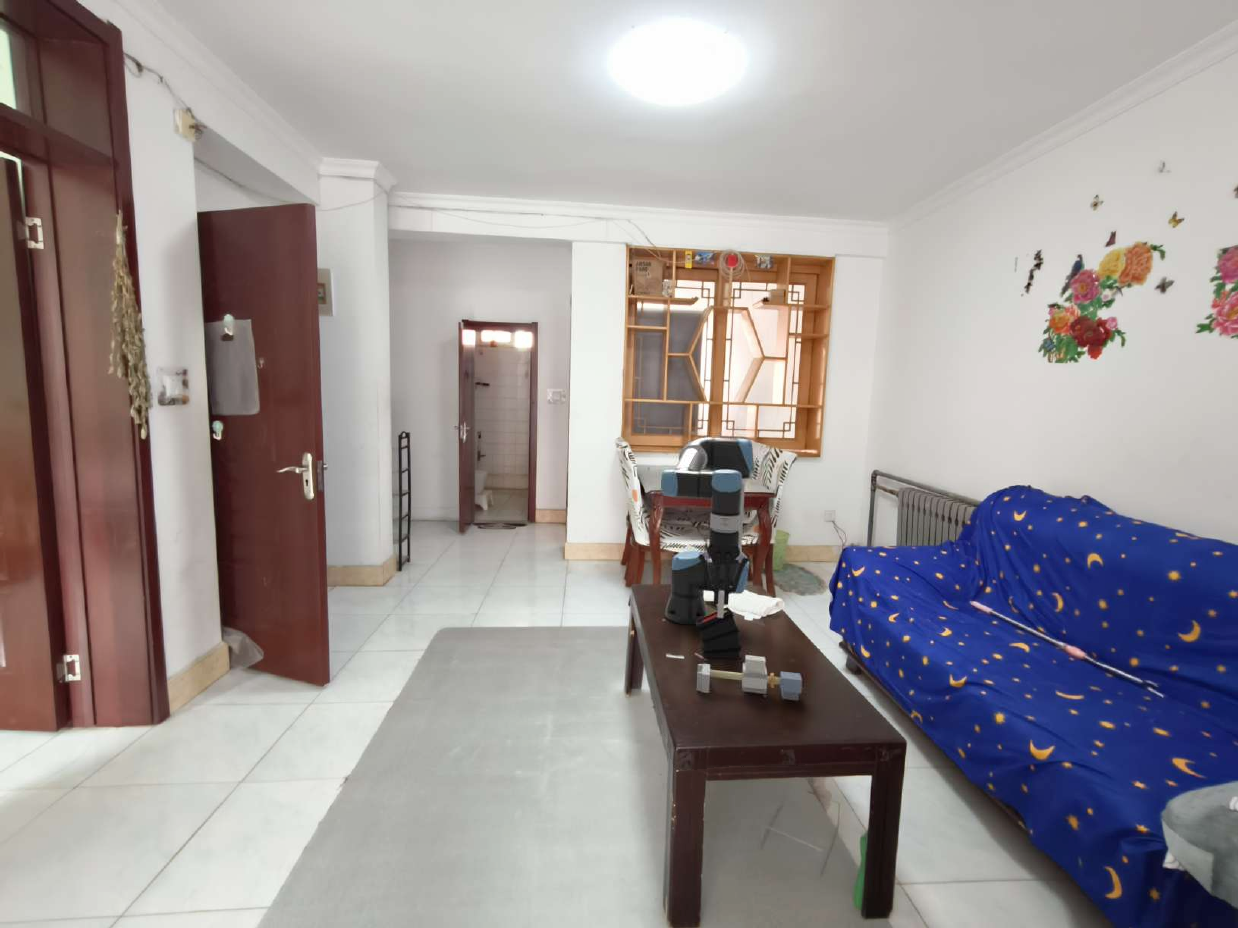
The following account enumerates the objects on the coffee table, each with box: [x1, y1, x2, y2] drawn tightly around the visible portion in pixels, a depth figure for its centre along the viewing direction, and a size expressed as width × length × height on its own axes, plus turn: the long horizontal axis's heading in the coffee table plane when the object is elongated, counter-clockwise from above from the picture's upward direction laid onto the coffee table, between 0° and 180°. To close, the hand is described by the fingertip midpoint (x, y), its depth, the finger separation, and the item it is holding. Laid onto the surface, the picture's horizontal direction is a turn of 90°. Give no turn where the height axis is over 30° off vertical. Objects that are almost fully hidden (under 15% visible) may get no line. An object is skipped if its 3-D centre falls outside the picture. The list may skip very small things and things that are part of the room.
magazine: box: [695, 607, 742, 659], centre depth 164 cm, size 4×13×15 cm, turn 92°
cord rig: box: [696, 663, 803, 702], centre depth 144 cm, size 6×27×6 cm, turn 80°
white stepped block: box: [741, 654, 768, 695], centre depth 144 cm, size 5×6×8 cm
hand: (720, 615), depth 144 cm, fingers closed
